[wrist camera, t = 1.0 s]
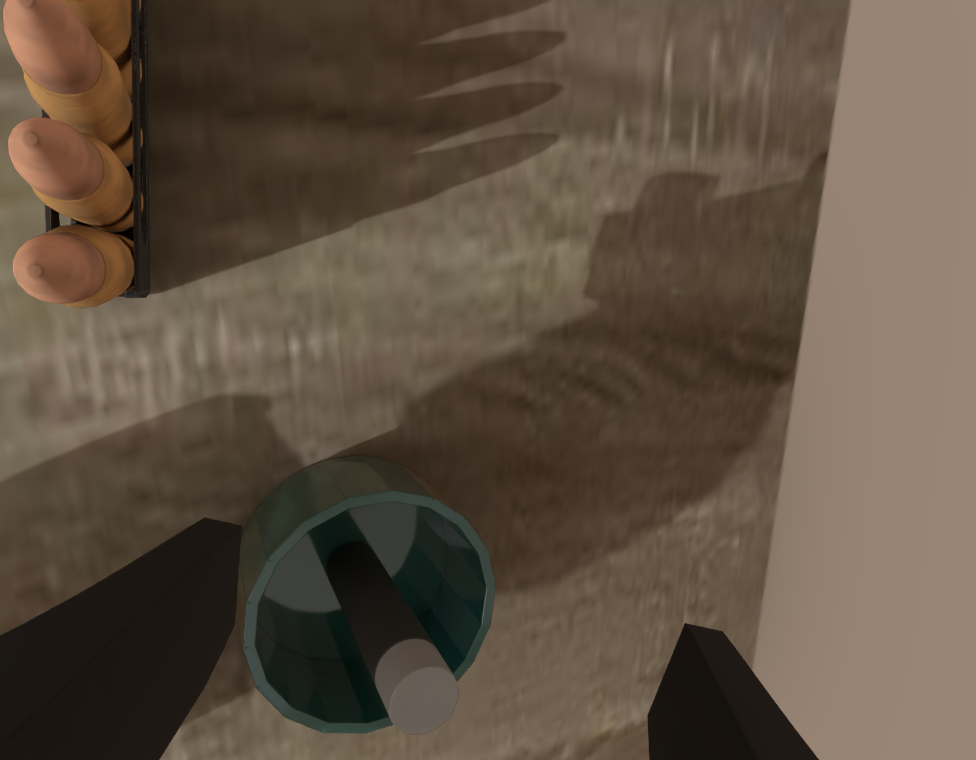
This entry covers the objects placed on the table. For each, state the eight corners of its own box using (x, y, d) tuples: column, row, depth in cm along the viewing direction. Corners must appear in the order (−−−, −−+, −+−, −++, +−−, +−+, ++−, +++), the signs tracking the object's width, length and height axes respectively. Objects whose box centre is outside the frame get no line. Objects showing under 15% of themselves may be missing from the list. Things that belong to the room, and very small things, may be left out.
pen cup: (419, 666, 27) (458, 735, 23) (206, 654, 23) (210, 732, 19) (474, 475, 26) (523, 513, 22) (266, 435, 23) (282, 471, 19)
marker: (357, 598, 25) (431, 745, 17) (315, 576, 24) (374, 721, 16) (386, 555, 25) (472, 682, 17) (345, 532, 24) (417, 655, 17)
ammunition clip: (149, 297, 21) (112, 341, 10) (78, 294, 20) (-45, 338, 9) (146, -89, 19) (97, -534, 8) (68, -108, 18) (-95, -624, 8)
